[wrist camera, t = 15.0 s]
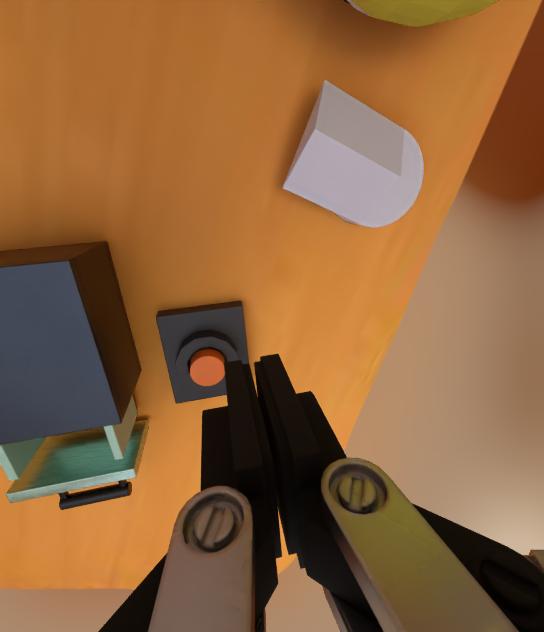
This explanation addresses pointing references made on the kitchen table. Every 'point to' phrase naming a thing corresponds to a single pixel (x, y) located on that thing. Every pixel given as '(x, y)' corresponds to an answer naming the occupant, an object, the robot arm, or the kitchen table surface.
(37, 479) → the tray
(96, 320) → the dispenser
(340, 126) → the wedge on round base
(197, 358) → the button
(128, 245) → the kitchen table surface
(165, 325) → the control block
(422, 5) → the toy
